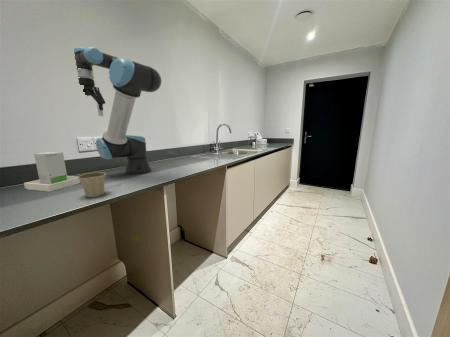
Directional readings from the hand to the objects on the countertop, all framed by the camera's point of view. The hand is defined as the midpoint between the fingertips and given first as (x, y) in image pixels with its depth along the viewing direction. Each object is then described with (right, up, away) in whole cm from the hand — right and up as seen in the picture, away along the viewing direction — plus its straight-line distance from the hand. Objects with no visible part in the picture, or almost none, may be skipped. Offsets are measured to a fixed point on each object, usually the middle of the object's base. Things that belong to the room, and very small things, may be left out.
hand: (91, 116), depth 110 cm
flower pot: (+27, -43, -35) cm, 62 cm away
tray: (-1, -40, -23) cm, 46 cm away
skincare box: (-1, -40, -23) cm, 46 cm away
